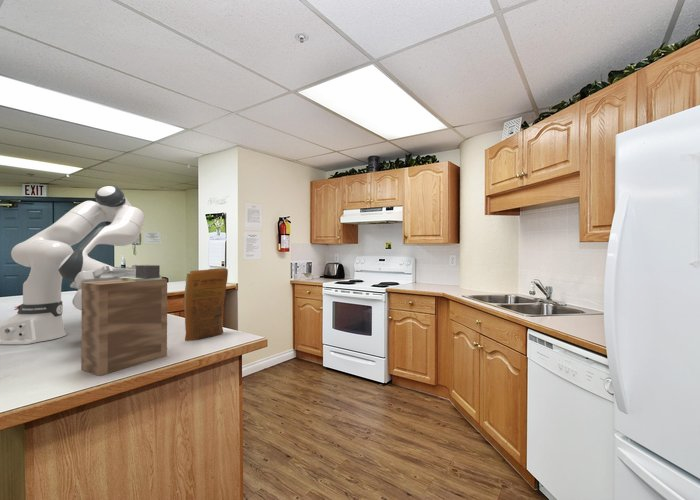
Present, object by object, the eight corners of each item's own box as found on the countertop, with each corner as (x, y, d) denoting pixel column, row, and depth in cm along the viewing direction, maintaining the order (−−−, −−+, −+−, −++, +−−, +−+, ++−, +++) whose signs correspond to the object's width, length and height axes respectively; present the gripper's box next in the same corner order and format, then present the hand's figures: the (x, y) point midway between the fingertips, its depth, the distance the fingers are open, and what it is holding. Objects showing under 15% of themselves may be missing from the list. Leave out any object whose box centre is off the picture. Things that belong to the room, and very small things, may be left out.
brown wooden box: (81, 369, 96) (81, 280, 96) (148, 350, 114) (149, 275, 114) (99, 376, 91) (99, 281, 91) (166, 355, 109) (167, 276, 109)
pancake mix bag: (231, 333, 138) (232, 268, 138) (186, 343, 123) (187, 270, 123) (223, 330, 142) (223, 267, 142) (178, 340, 127) (179, 269, 127)
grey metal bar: (109, 275, 111) (109, 264, 111) (122, 274, 114) (122, 263, 114) (147, 278, 101) (147, 266, 101) (159, 277, 105) (159, 265, 105)
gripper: (65, 279, 107) (84, 260, 102) (130, 275, 126) (149, 258, 120) (69, 296, 106) (89, 277, 101) (134, 289, 124) (154, 273, 119)
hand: (122, 267), depth 111 cm, fingers open, 8 cm apart
